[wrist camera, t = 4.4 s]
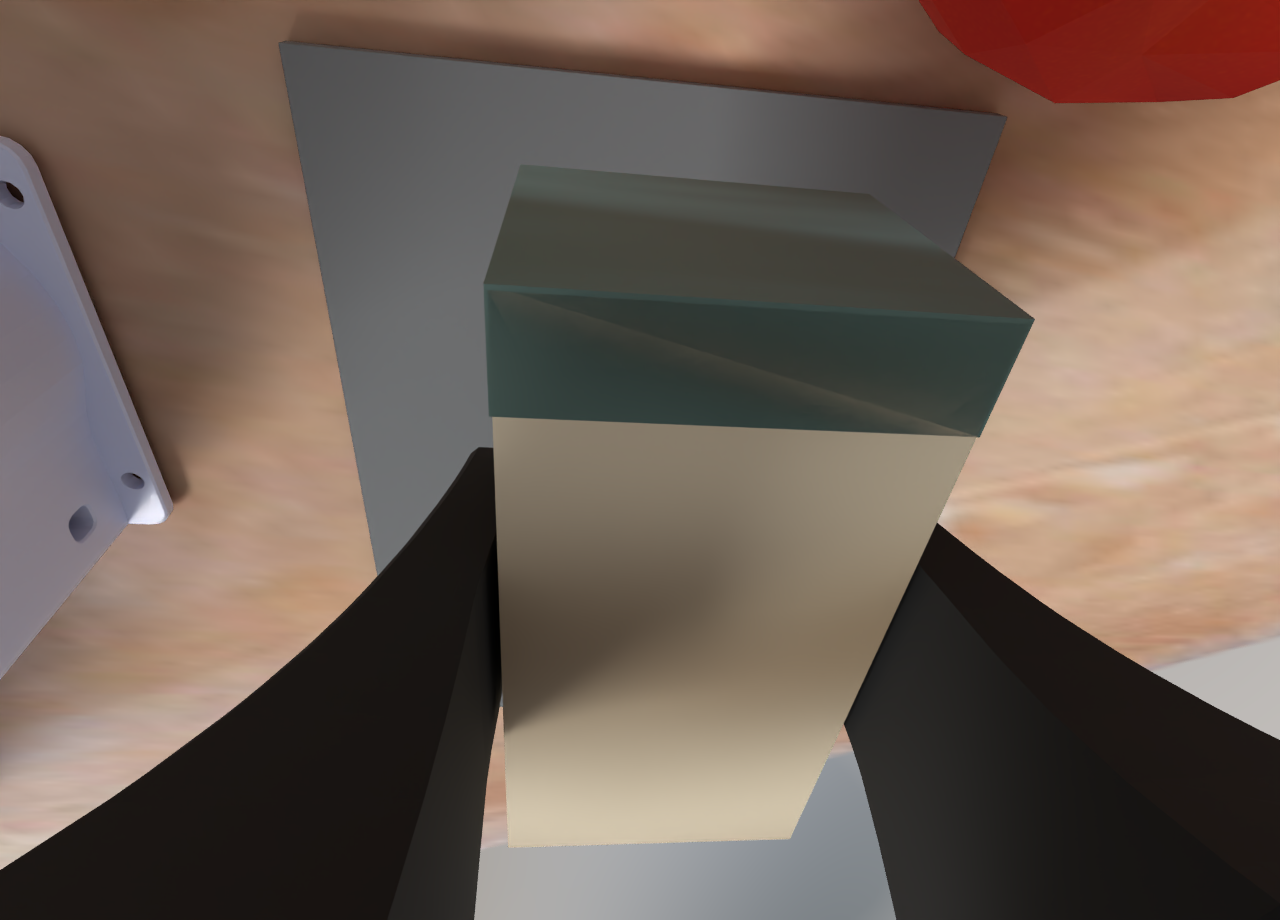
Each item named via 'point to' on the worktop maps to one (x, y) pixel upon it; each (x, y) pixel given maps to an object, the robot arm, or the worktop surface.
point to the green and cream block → (711, 485)
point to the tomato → (1119, 46)
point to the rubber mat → (480, 192)
